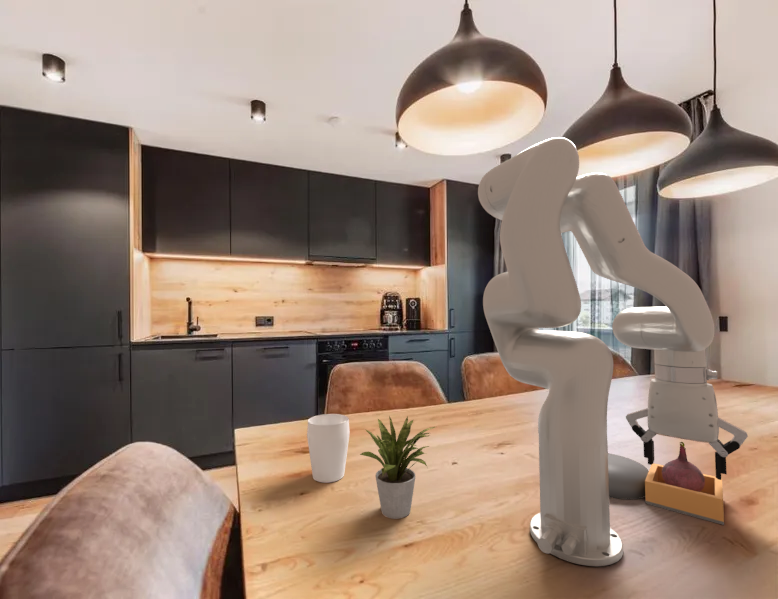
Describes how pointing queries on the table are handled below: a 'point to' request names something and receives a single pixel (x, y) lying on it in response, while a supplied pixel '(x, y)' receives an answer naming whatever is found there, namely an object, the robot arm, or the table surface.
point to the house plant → (396, 468)
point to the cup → (328, 446)
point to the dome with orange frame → (664, 489)
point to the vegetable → (683, 473)
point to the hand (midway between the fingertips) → (683, 469)
